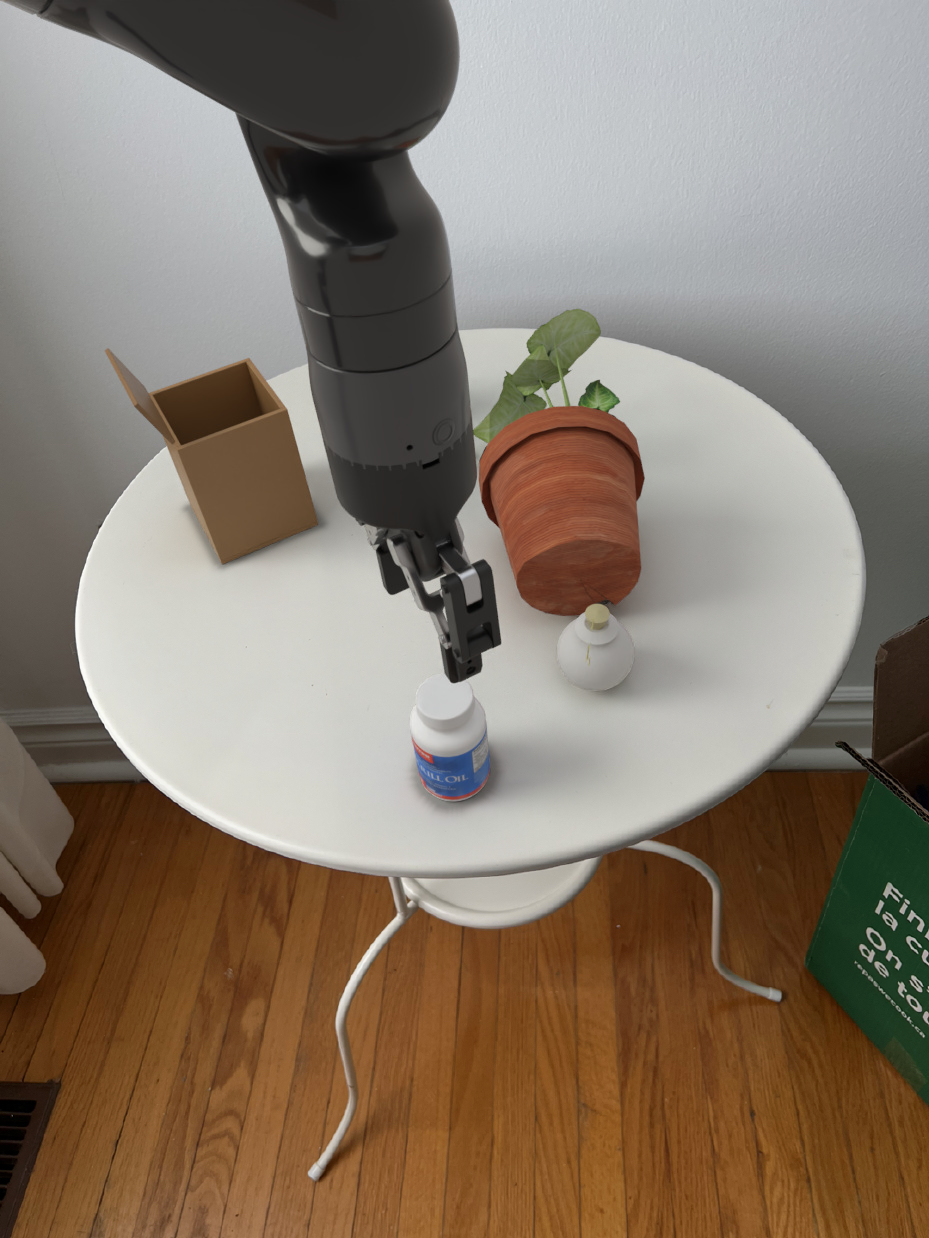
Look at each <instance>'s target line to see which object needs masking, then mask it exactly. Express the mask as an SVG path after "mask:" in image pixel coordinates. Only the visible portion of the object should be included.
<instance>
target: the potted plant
mask: <svg viewBox="0 0 929 1238" xmlns="http://www.w3.org/2000/svg"><path fill="white" fill-rule="evenodd" d="M601 333H602V330H601V326H600V324H599V322H598V320H597V318H596V316H595V315H593V314H592V313H591V312H589V311H587V310H584V309H581V308H573V309H566V310H565V311H563V312H561V313H560V314H558V315H555V316H554V317H552V318H551V319H550V320H549V321H548V322H546V323H544V324H541V325H540V326H539V327H537V329H536V330H534V331H533V333H532V335H531V336H530V337H529V338H528V339H527V341H526V349H527V351H528V354H529V355H528V356H527V357H526V358H525V359H524V360H523V361H522V362H521V363H520V365H519V366H518V367H517V369H516V370H515V371H514V372H512V373H511V372H509V371H507V370H505V373H506V375H505V376H504V377H503V379H504V380H503V382H502V390H501V393H500V395H499V398H498V400H497V402H496V403H495V404H494V405H493V406H492V408H491V409H490V411H489V413H488V414H487V415H486V416H485V417H484V419H482V421H481V422H479V424H478V425H477V426H475V427H474V428H473V434H474V437H476V438H477V439H479V440H482V441H483V442H485V443H487V445H486V446H485V447H484V449H483V451H482V453H481V456H480V458H479V460H478V488H479V493H480V499H481V503H482V506H483V508H484V510H485V513H486V515H487V518H488V519H489V520H490V521H491V522H492V523H493V524H494V525H495V526H496V527H497V528H499V530H500V531H499V532H500V534H501V537H502V541H503V545H504V548H505V551H506V554H507V558H508V562H509V565H510V568H511V571H512V574H513V578H514V582H515V585H516V588H517V590H518V593H519V595H520V597H521V600H523V601H524V602H525V603H526V604H527V605H529V606H530V607H531V608H533V609H535V610H537V611H540V612H542V613H544V614H548V615H554V616H560V617H573V616H576V617H577V616H580V615H581V614H582V613H584V612H585V611H586V609H587V607H589V606H590V605H593V604H602V605H604V606H606V605H608V604H612V605H614V606H617V605H618V604H619V603H621V602H622V601H623V600H624V599H625V598H627V596H628V595H630V593H631V592H632V590H633V589H635V587H636V585H637V584H638V583H639V579H640V577H641V576H640V575H641V573H642V560H641V559H642V558H641V545H640V544H641V543H640V533H639V530H640V529H639V518H638V504H637V502H638V501H639V499H640V498H641V496H642V491H643V487H644V484H645V479H646V477H645V473H644V468H643V463H642V458H641V454H640V449H639V443H638V440H637V437H636V436H635V434H634V433H633V432H632V431H631V429H630V428H629V427H628V425H627V424H626V423H625V422H624V421H622V420H621V419H619V418H618V417H617V416H615V415H614V414H612V413H609V412H610V411H611V410H612V409H614V408H615V406H616V405H619V404H620V403H621V400H620V397H618V396H617V394H615V393H614V391H612V390H611V389H610V388H609V387H607V386H605V385H604V384H603V383H602V382H601V379H597V380H593V381H591V382H589V384H588V385H587V386H586V387H585V389H584V390H585V392H584V393H583V394H582V395H581V396H579V399H578V403H577V405H571V402H570V399H569V394H568V390H567V386H566V382H565V379H564V378H565V376H567V375H568V374H570V373H571V372H572V371H573V369H571V370H570V368H571V367H572V366H573V365H574V364H575V362H576V361H577V360H578V359H579V358H580V357H581V356H583V355H584V354H585V353H586V352H587V351H588V350H589V349H590V348H591V347H592V345H593V344H595V342H596V341H597V340H598V339H599V338H600V336H601ZM559 382H560V384H561V389H562V394H563V400H564V406H563V405H562V406H554V405H553V403H552V401H551V398H550V396H549V394H548V390H550V388H551V387H552V386H553V385H554V384H558V383H559ZM540 389H542V391H543V393H544V395H545V398H546V400H547V401H546V400H545V399H544V398H543V397H542V396H539V395H538V394H536V392H538V391H539V390H540ZM547 406H549V407H548V408H546V407H547Z"/></svg>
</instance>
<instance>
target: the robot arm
mask: <svg viewBox="0 0 929 1238" xmlns="http://www.w3.org/2000/svg"><path fill="white" fill-rule="evenodd" d="M0 1H1V2H3V3H6V4H8V5H9V6H12V7H14V8H16V9H18V10H21V11H23V12H26V13H28V14H30V15H36V17H37V18H39V19H41V20H44V21H46V22H49V23H51V24H54V25H56V26H58V27H62V28H64V29H66V30H69V31H72V32H75V33H78V34H81V35H84V36H86V37H89V38H92V39H95V40H98V41H100V42H102V43H105V44H108V45H110V46H112V47H114V48H116V49H117V48H118V49H120V50H121V51H124V52H126V53H128V54H130V55H132V56H134V57H137V58H138V59H139V60H141V61H143V62H145V63H148V64H149V65H151V66H152V67H154V68H156V69H158V70H159V71H161V72H162V73H164V74H166V75H168V76H170V77H171V78H172V79H174V80H177V81H178V82H179V83H181V84H184V85H185V86H187V87H189V88H191V89H192V90H194V91H196V92H198V93H200V95H203V96H205V97H207V98H208V99H210V100H212V101H213V102H215V103H217V104H219V105H221V106H222V107H224V108H226V109H228V110H230V111H232V112H234V114H235V117H236V120H237V122H238V123H237V124H238V126H239V129H240V131H241V133H242V137H243V140H244V142H245V145H246V147H247V151H248V153H249V155H250V158H251V161H252V163H253V167H254V168H255V172H256V174H257V177H258V180H259V182H260V185H261V188H262V190H263V193H264V195H265V197H266V199H267V202H268V204H269V207H270V210H271V213H272V215H273V218H274V220H275V223H276V226H277V230H278V232H279V236H280V238H281V241H282V246H283V249H284V253H285V257H286V264H287V270H288V271H287V272H288V277H289V282H290V288H291V291H292V296H293V300H294V304H295V309H296V312H297V313H296V314H297V317H298V321H299V325H300V329H301V334H302V339H303V341H304V344H305V350H306V356H307V367H308V378H309V387H310V392H311V398H312V402H313V405H314V410H315V413H316V417H317V421H318V426H319V430H320V433H321V438H322V442H323V446H324V449H325V454H326V458H327V462H328V467H329V471H330V475H331V479H332V483H333V487H334V491H335V495H336V498H337V500H338V502H339V504H340V506H341V507H342V508H343V510H344V511H345V512H346V513H347V514H348V515H350V516H351V517H352V518H354V520H355V522H357V523H358V525H359V526H360V527H363V528H364V530H365V532H366V536H367V543H368V545H369V546H370V547H371V548H372V549H373V550H374V551H375V555H376V559H377V563H378V567H379V573H380V579H381V582H382V586H383V588H384V590H385V591H386V592H387V594H388V595H390V596H395V595H397V594H400V593H401V592H404V591H406V590H408V589H409V590H410V592H411V594H412V598H413V600H414V602H415V604H416V605H415V606H417V608H418V609H419V610H420V611H423V612H426V613H428V614H429V616H430V619H431V620H432V624H433V626H434V628H435V631H436V633H437V639H438V642H439V647H440V653H441V654H440V655H441V659H442V666H443V673H445V675H446V676H447V678H448V679H449V681H450V682H451V683H458V682H462V681H464V680H468V679H470V678H472V677H475V676H476V675H478V674H481V673H482V670H483V665H484V664H483V657H482V656H483V655H482V654H483V653H484V652H487V651H489V650H491V649H495V648H497V647H499V646H501V645H502V635H501V628H500V620H499V612H498V611H499V610H498V605H497V595H496V588H495V581H494V574H493V569H492V567H491V565H490V564H489V563H488V561H487V560H486V559H484V558H481V559H479V560H477V561H474V562H473V563H471V561H470V558H469V555H468V552H467V551H466V548H465V546H464V542H465V533H464V531H463V528H462V526H461V523H460V520H459V518H458V515H459V513H460V512H461V510H462V509H463V507H464V505H465V504H466V503H467V502H468V500H469V499H470V497H471V496H472V494H473V492H474V490H475V488H476V484H477V480H478V467H477V455H476V448H475V447H476V445H475V435H474V434H473V430H474V426H473V425H474V424H473V416H472V406H471V405H472V404H471V394H470V393H471V392H470V385H469V371H468V365H467V360H466V356H465V352H464V347H463V343H462V340H461V336H460V332H459V331H460V330H459V324H458V316H457V305H456V296H455V286H454V276H453V268H452V258H451V250H450V243H449V237H448V232H447V229H446V225H445V221H444V218H443V216H442V213H441V212H440V209H439V207H438V205H437V204H436V202H435V201H434V199H433V198H432V196H431V195H430V193H429V191H428V190H427V189H426V188H425V186H424V184H423V183H422V181H421V180H420V178H419V177H418V175H417V173H416V170H415V168H414V166H413V163H412V161H411V158H410V155H409V151H410V150H412V149H413V148H414V147H416V146H417V145H418V144H420V143H421V142H423V140H424V139H426V138H427V137H428V136H429V135H430V134H431V133H432V132H433V131H434V130H435V128H436V127H437V126H438V124H439V123H440V122H441V121H442V119H443V118H444V116H445V114H446V112H447V110H448V108H449V106H450V104H451V102H452V99H453V96H454V94H455V90H456V88H457V87H456V86H457V84H458V78H459V72H460V63H461V62H460V61H461V50H460V38H459V31H458V25H457V21H456V16H455V13H454V10H453V8H452V4H451V1H450V0H0ZM439 577H440V578H439ZM438 578H439V583H440V584H439V585H440V588H439V589H437V590H435V591H433V592H430V593H429V592H428V591H427V589H426V586H425V585H424V583H426V582H427V583H428V582H431V581H433V580H435V579H438ZM444 611H445V612H444Z"/></svg>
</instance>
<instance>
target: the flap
mask: <svg viewBox="0 0 929 1238" xmlns="http://www.w3.org/2000/svg"><path fill="white" fill-rule="evenodd" d="M104 352H105V355H106V357H107V358H108V360H109V362H110V364H111V365H112V368H113V369H114V371H115V373H116V375H117V377H118V379H119V381H120V383H121V385H122V386H123V389H124V390H125V392H126V394H127V396H128V398H129V400H130V401H131V403H132V405H133V407H134V408H135V409H136V410H137V411H138V412H139V413H140V414H141V415H142V416H143V417H144V418H145V420H146V421H148V422H149V424H151V426H153V428H155V429H156V430H157V431H158V432H159V433H160V434H161V436H162V435H163V436H164V437H165V438H166V439H167V440H168V441H169V442H170V443H171V444H172V445H173V444H174V443H175V440H174V438H173V436H172V434H171V433H170V431H169V429H168V427H167V426H166V424H165V422H164V420H163V418H162V417H161V415H160V413H159V411H158V409H157V408H156V406H155V404H154V402H153V401H152V399H151V397H150V395H149V393H150V392H149V391H148V390H147V388H146V386H145V385H144V383H142V382H141V381H140V380H139V379H138V378H137V377H136V376H135V375H134V374H133V372H131V370H130V369H129V368H128V367H127V366H126V365H125V364H124V363H123V362H122V361H121V360H120V358H118V356H116V354H115V353H114V352H113V351H112V350H110V348H109V347H107V348H106V349H105V350H104ZM163 436H162V437H163Z"/></svg>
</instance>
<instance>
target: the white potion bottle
mask: <svg viewBox="0 0 929 1238" xmlns="http://www.w3.org/2000/svg"><path fill="white" fill-rule="evenodd" d="M635 653H636V652H635V645H634V641H633V637H632V635H631V633H630V632H629V631H628V629H627V628H626V627H625V626H624V624H622V623H621V621H619V620H617V618H616V617H615V616H614V615H613V614H611V613H610V610H609V608H608V607H607V606H606V605H602V604H593V605H590V606H589V607H587V609H586V611H585V612H584V613H582V614H581V615H578V617H577V618H575V619H573V620H572V621H570V622H569V623H567V625H566V627H564V629H563V630H562V632H561V633H560V636H559V638H558V641H557V645H556V660H557V664H558V667H559V669H560V671H561V673H562V674H563V676H564V677H565V678H566V680H568V681H569V682H570V683H571V684H572V685H574V686H576V687H578V688H579V689H582V690H585V691H590V692H602V691H606V690H610V689H612V688H614V687H616V686H617V685H619V684H621V682H623V681H624V680H625V678H626V677H627V676H628V675H629V673H630V672H631V670H632V666H633V665H634V660H635Z"/></svg>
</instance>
